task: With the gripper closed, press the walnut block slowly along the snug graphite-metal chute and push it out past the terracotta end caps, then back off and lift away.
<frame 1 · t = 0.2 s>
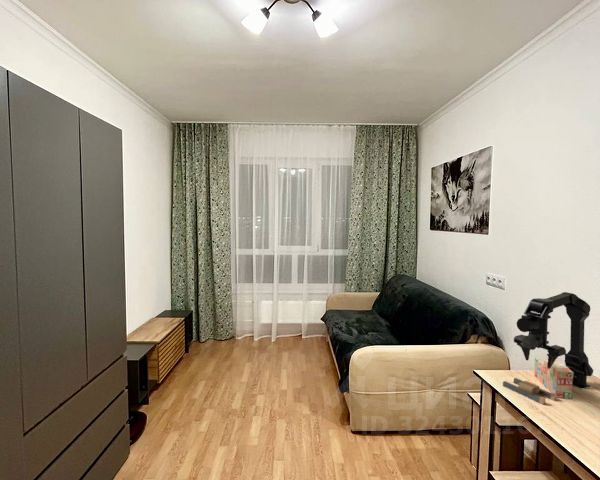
hand: (537, 364, 153), 14 cm above the table, tool pointing down, fingers open, 9 cm apart
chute: (528, 392, 158), on the table
stack of blocks: (551, 387, 163), on the table
walnut block: (528, 393, 158), on the table
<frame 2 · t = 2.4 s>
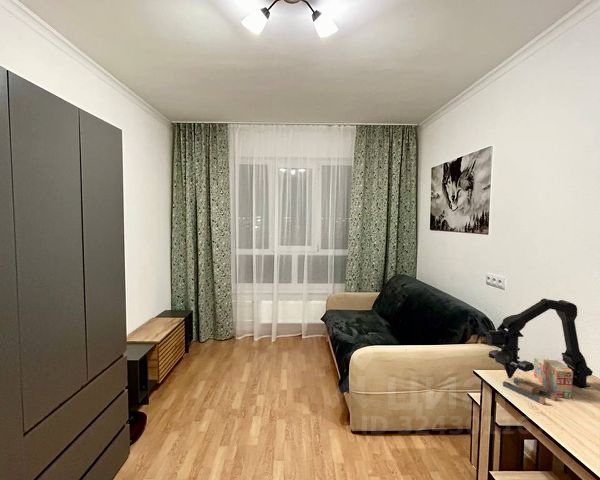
hand: (509, 377, 166), 3 cm above the table, tool pointing down, fingers closed
nothing on the table moved.
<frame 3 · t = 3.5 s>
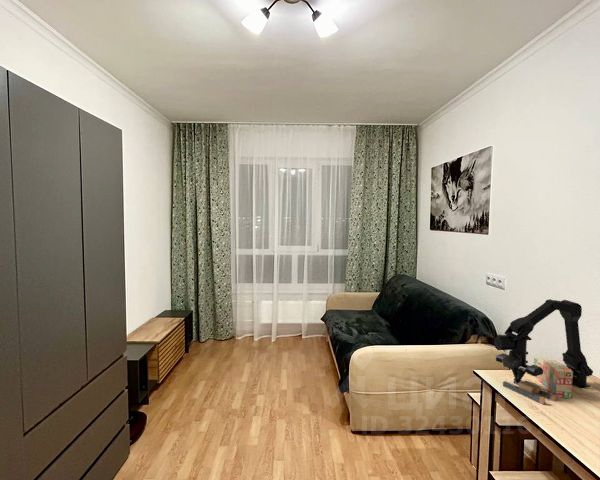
hand: (517, 382, 162), 2 cm above the table, tool pointing down, fingers closed
nothing on the table moved.
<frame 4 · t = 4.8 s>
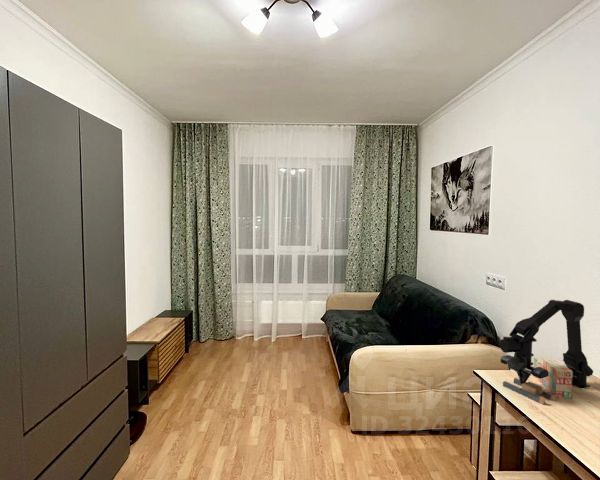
hand: (522, 384, 160), 3 cm above the table, tool pointing down, fingers closed
walnut block: (531, 394, 157), on the table
everything else where it was.
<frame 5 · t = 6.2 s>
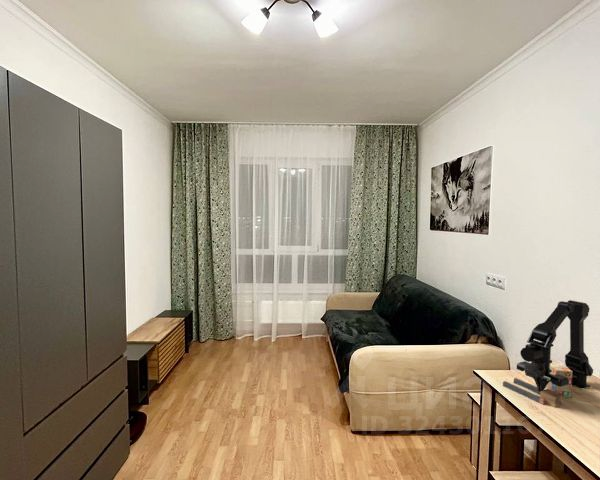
hand: (540, 392, 153), 3 cm above the table, tool pointing down, fingers closed
walnut block: (550, 402, 150), on the table, touching gripper
everything else where it was.
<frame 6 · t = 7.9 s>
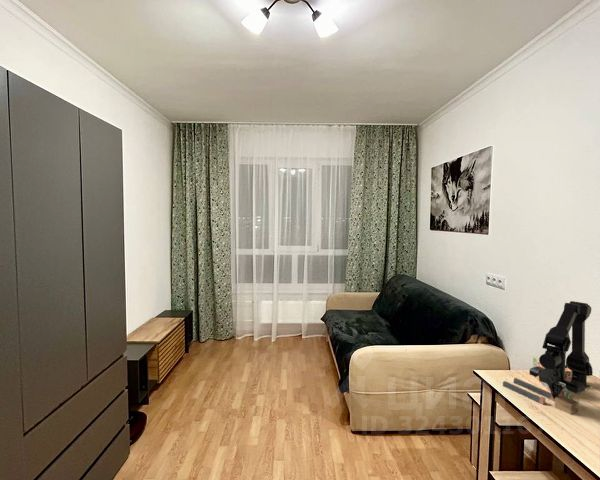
hand: (554, 398, 148), 3 cm above the table, tool pointing down, fingers closed
walnut block: (566, 409, 144), on the table, touching gripper
everything else where it was.
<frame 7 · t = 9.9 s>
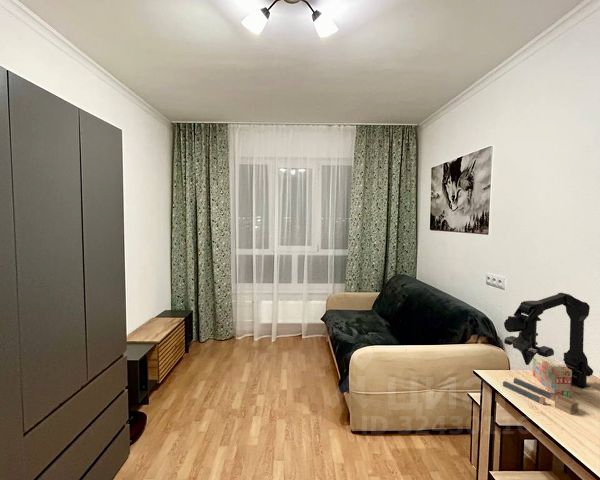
hand: (527, 364, 159), 12 cm above the table, tool pointing down, fingers closed
walnut block: (566, 409, 144), on the table
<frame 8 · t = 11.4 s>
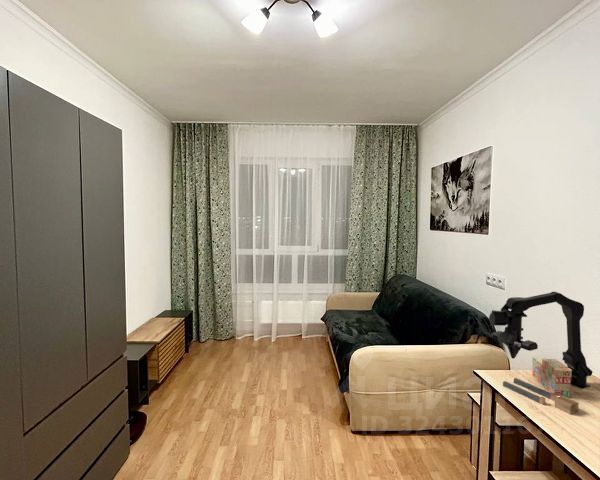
hand: (513, 358, 166), 12 cm above the table, tool pointing down, fingers closed
at the end: walnut block inside the target area (0.6 cm from its centre), on the table; walnut block tilted 0°; the gripper is holding nothing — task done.
